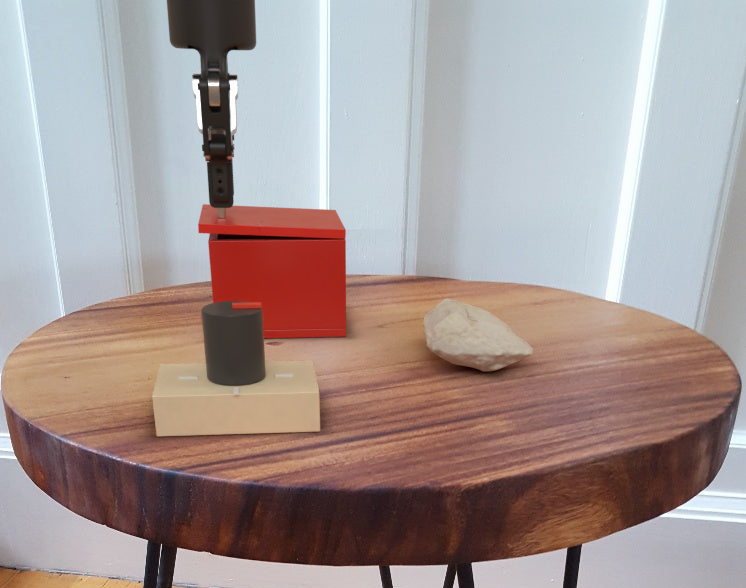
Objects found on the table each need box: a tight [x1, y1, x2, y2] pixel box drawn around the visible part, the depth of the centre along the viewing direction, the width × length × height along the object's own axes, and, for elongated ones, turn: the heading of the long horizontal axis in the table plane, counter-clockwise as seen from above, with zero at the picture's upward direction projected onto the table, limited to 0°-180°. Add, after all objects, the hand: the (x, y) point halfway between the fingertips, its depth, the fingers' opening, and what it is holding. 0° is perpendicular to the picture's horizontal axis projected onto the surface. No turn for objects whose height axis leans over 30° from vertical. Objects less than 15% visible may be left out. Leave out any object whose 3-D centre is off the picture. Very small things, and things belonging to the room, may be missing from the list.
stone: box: [423, 297, 534, 372], centre depth 86 cm, size 9×13×5 cm
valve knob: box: [200, 301, 266, 385], centre depth 71 cm, size 4×4×5 cm
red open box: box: [207, 234, 347, 339], centre depth 95 cm, size 13×12×9 cm
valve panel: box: [151, 360, 321, 437], centre depth 73 cm, size 12×9×3 cm
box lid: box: [197, 203, 347, 240], centre depth 91 cm, size 13×12×5 cm
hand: (222, 201), depth 91 cm, fingers closed on box lid, 5 cm apart
